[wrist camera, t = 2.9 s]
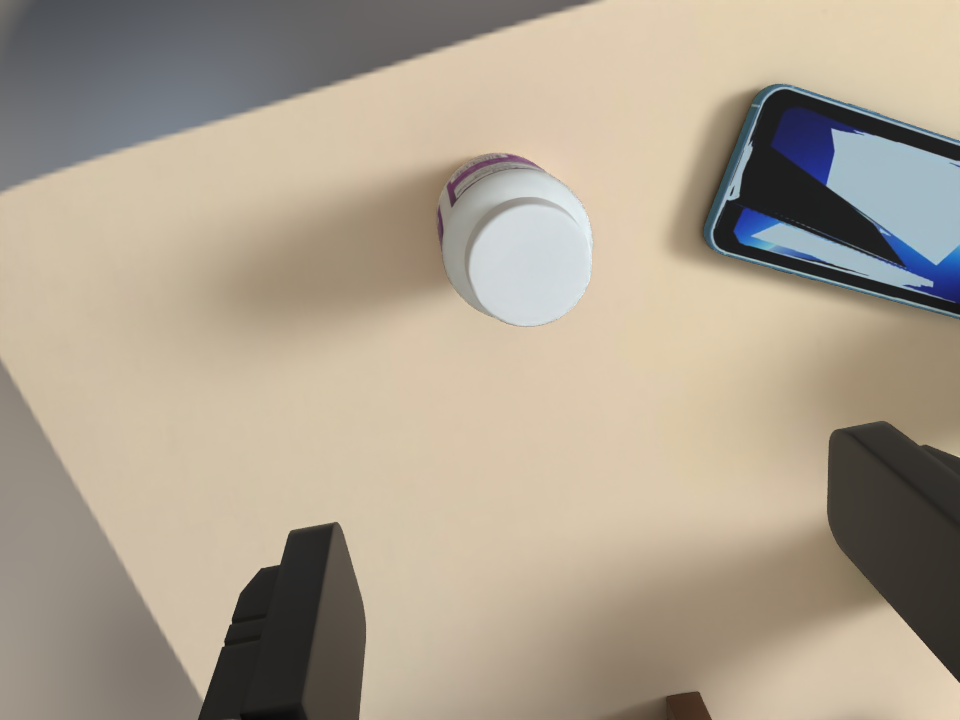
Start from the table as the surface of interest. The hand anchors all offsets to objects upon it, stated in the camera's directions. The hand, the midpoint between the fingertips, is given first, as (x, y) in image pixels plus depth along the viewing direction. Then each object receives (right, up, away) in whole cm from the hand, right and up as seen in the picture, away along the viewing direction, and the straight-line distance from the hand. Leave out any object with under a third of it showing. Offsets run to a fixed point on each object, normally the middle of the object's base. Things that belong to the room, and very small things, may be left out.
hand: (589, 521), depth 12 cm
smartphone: (+16, +10, +21) cm, 28 cm away
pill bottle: (-1, +9, +20) cm, 22 cm away
